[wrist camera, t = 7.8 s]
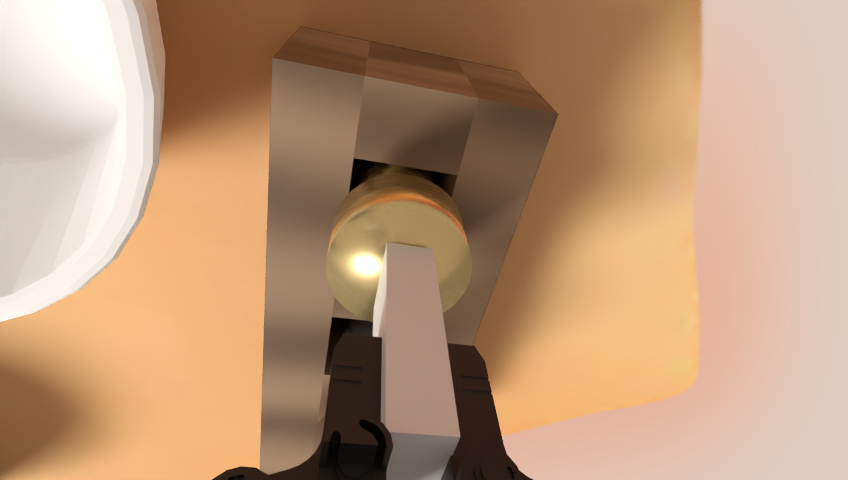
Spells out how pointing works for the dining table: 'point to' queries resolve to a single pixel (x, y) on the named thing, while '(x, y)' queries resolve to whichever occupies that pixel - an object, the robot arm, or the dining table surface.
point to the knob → (394, 235)
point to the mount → (331, 182)
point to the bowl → (74, 140)
